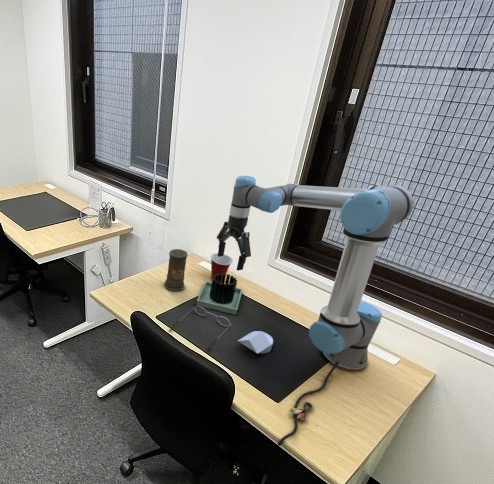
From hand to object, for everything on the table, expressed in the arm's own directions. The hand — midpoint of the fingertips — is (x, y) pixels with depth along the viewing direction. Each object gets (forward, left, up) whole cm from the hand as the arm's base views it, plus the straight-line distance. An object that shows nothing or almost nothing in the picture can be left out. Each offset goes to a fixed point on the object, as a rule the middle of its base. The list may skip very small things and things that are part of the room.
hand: (229, 262), depth 164 cm
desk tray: (0, +1, -19) cm, 19 cm away
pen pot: (+4, -3, -14) cm, 14 cm away
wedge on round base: (-28, -18, -19) cm, 39 cm away
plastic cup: (+18, +5, -19) cm, 27 cm away
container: (+2, +23, -19) cm, 30 cm away
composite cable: (-55, -35, -19) cm, 68 cm away
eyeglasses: (-26, +4, -19) cm, 33 cm away
